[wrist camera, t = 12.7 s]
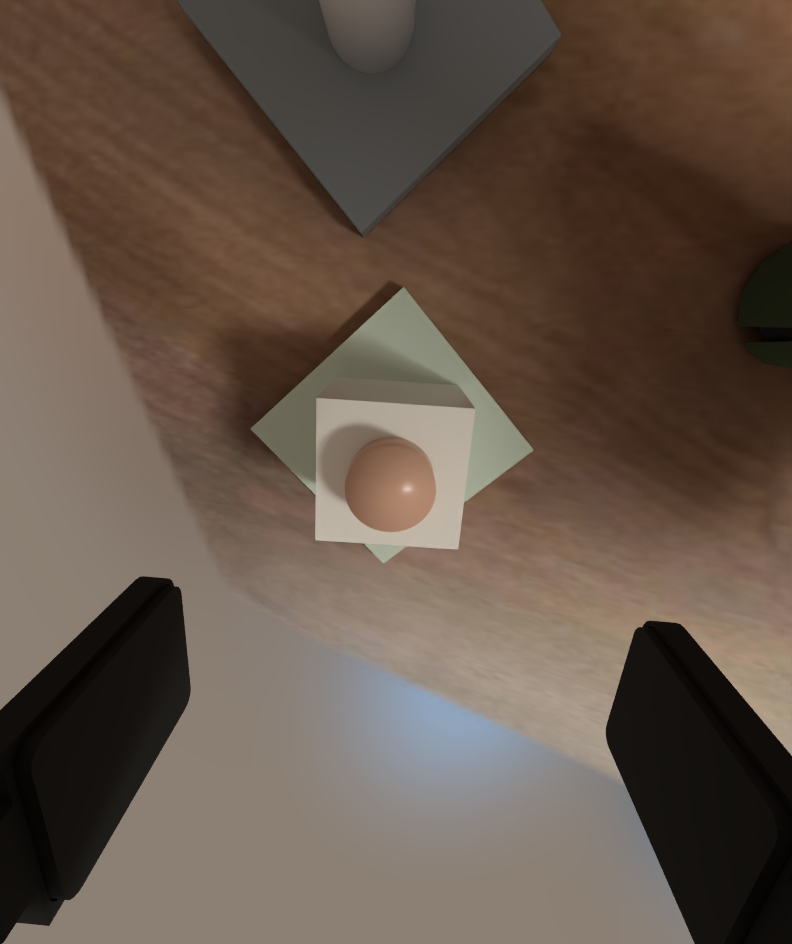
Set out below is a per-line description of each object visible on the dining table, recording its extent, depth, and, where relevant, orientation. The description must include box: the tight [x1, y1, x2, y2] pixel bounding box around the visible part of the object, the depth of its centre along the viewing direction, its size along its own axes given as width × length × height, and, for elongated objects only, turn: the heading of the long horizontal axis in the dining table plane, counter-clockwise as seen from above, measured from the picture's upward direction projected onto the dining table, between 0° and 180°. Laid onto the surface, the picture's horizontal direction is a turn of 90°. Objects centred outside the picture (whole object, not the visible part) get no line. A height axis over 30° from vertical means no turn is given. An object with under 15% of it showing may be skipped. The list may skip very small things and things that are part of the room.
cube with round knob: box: [315, 377, 475, 549], centre depth 22 cm, size 6×6×8 cm
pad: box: [251, 287, 533, 564], centre depth 26 cm, size 11×11×1 cm
